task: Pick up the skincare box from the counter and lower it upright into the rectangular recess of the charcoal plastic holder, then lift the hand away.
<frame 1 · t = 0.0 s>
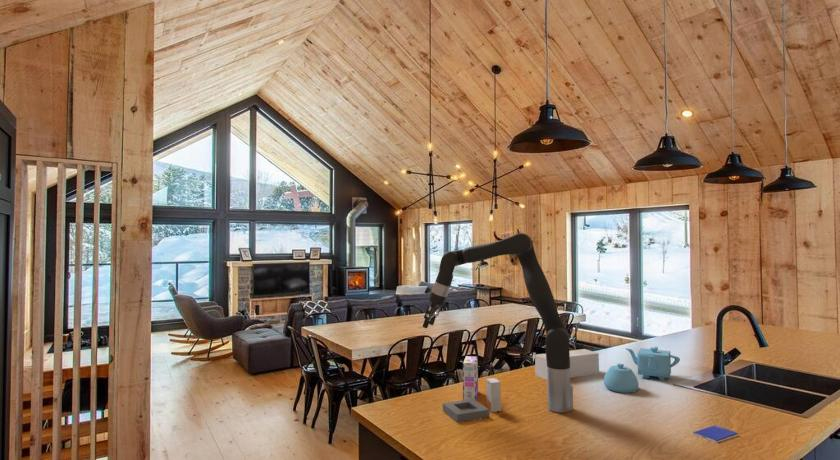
hand: (427, 326, 209), 31 cm above the worktop, tool tilted 20°, fingers open, 8 cm apart
teakettle: (652, 377, 233), on the worktop
sugar bowl: (621, 389, 214), on the worktop
candy box: (470, 396, 207), on the worktop
white rectangular block: (567, 375, 239), on the worktop
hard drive: (715, 437, 161), on the worktop
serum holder: (465, 413, 185), on the worktop
skincare box: (493, 410, 189), on the worktop
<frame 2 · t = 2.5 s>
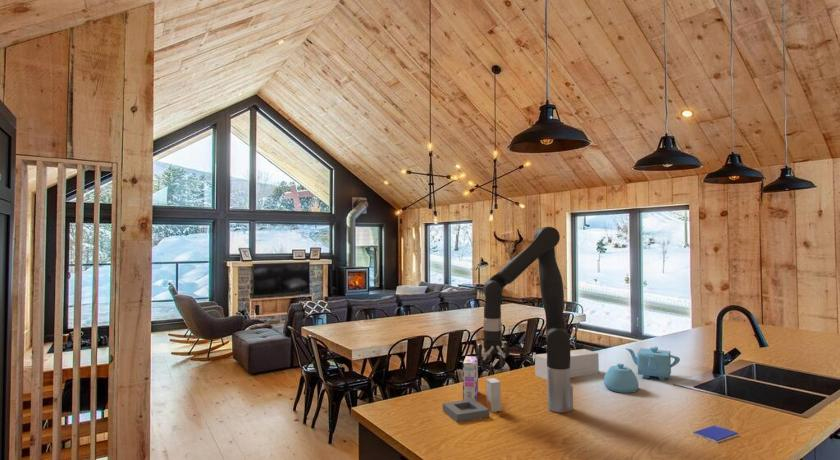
hand: (492, 368, 190), 17 cm above the worktop, tool pointing down, fingers open, 8 cm apart
nothing on the worktop moved.
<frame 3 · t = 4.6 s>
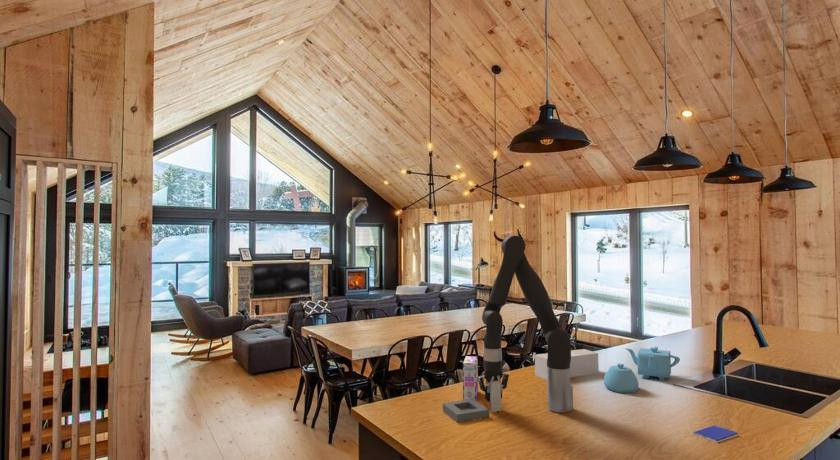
hand: (493, 400, 190), 4 cm above the worktop, tool pointing down, fingers closed on skincare box, 4 cm apart
skincare box: (493, 409, 189), on the worktop, touching gripper
everything else where it was.
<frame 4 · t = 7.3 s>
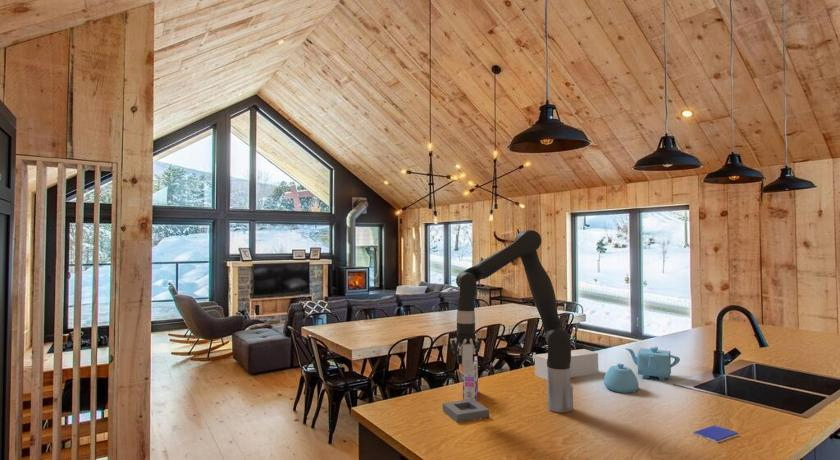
hand: (465, 363, 186), 20 cm above the worktop, tool pointing down, fingers closed on skincare box, 4 cm apart
skincare box: (465, 373, 186), point 16 cm above the worktop, touching gripper
everything else where it was.
when the fingers open (6 cm above the worktop, at t = 10.0 s): skincare box stays where it is, resting on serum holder.
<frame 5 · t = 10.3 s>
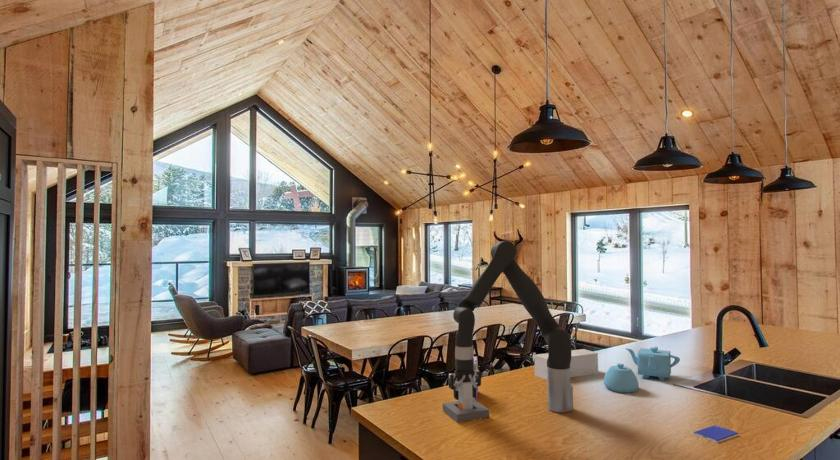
hand: (465, 398, 185), 6 cm above the worktop, tool pointing down, fingers open, 7 cm apart
skincare box: (465, 411, 185), point 1 cm above the worktop, touching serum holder
everything else where it was.
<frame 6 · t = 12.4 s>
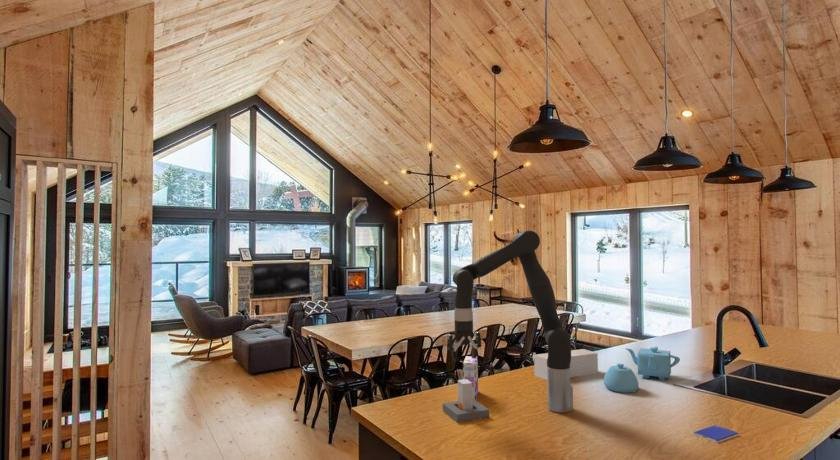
hand: (464, 359, 186), 22 cm above the worktop, tool pointing down, fingers open, 8 cm apart
nothing on the worktop moved.
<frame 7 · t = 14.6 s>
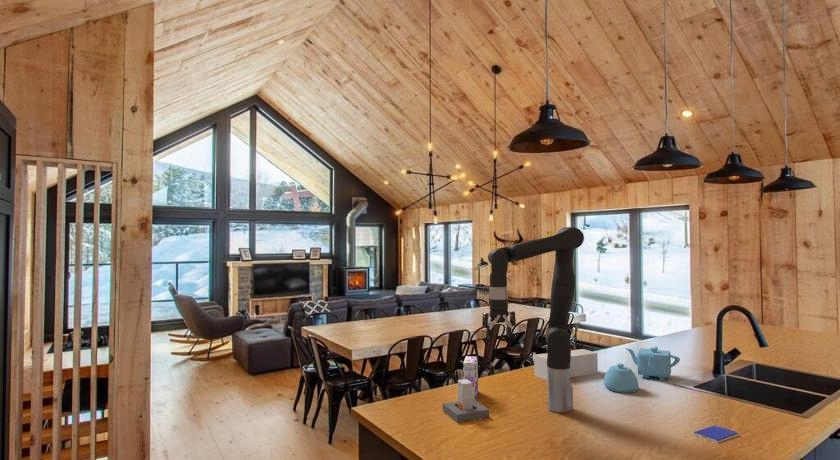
hand: (499, 337, 187), 30 cm above the worktop, tool pointing down, fingers open, 8 cm apart
nothing on the worktop moved.
at the end: skincare box 0.1 cm off-centre on the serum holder, point 0.8 cm above the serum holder's base; skincare box tilted 0°; the gripper is holding nothing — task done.
